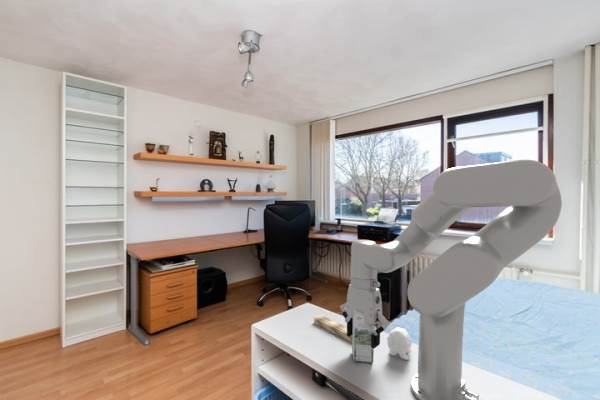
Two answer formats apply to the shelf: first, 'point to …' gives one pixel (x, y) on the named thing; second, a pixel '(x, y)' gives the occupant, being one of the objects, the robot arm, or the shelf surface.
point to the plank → (332, 326)
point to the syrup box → (361, 339)
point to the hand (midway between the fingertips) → (362, 340)
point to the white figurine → (399, 342)
